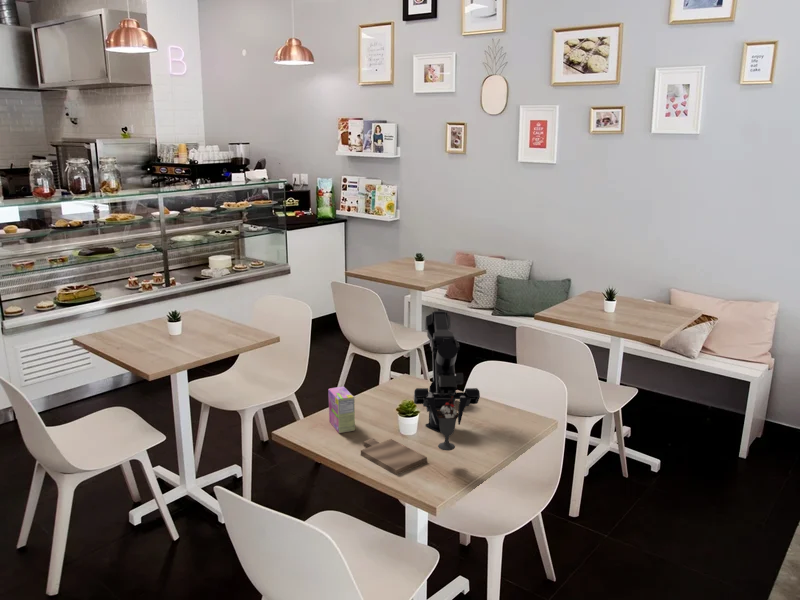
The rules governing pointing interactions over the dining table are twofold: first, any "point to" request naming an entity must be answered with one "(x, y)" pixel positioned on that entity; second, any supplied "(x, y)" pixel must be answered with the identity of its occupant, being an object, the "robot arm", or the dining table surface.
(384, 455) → the board
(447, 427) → the sundae
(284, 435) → the dining table surface
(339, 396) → the box
